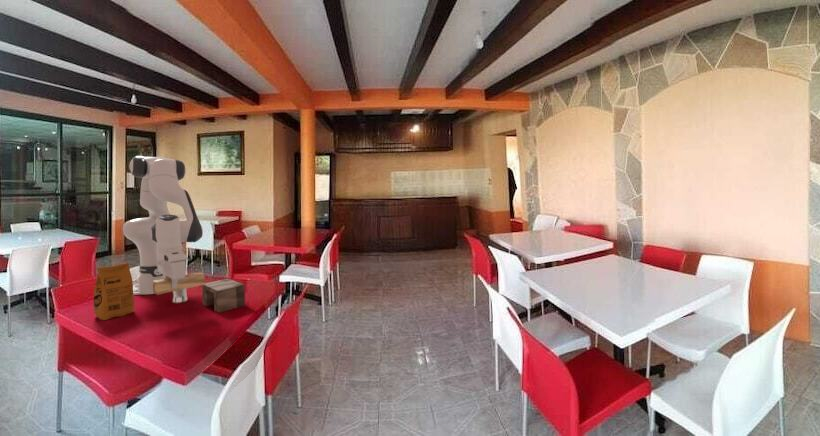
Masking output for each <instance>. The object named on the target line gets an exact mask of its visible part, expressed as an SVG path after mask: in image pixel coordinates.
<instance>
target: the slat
mask: <svg viewBox="0 0 820 436" xmlns="http://www.w3.org/2000/svg"><path fill="white" fill-rule="evenodd" d="M205 281H206V280H205V273H203V272H201V271H200V272H195V273H190V274H189V273H187V275H185V278H184V279H180V280H178V283H177V287H176V288H172V287H171V283H172V280H171V278H166V279H161V280H155V281H153V293H155V295H157V296H159V295H163V294H166V293H173V291H177V290H182V289H191V288H195V287H199V286H202V285H205V283H206V282H205Z"/></svg>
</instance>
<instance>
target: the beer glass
mask: <svg viewBox="0 0 820 436" xmlns="http://www.w3.org/2000/svg"><path fill="white" fill-rule="evenodd" d="M186 275H188V270H187V269H186ZM187 289H188V288H187ZM187 289H182V290H177V291H173V292H172V304H182V303H186V302H187V301H188V296H187Z"/></svg>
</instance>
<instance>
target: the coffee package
mask: <svg viewBox="0 0 820 436" xmlns="http://www.w3.org/2000/svg"><path fill="white" fill-rule="evenodd" d="M94 284H95V285H94V288H93V289H94V290H93V313H94V314H95V317H96V318H98V319H99V320H100V321H106V320H110V319H113V318H115V317H118V318H120V317H123V316H126V315H129V314H131V313H134V312H135V299H134V298H135V297H134V296H135V295H134V294H133V286H134V284H133V277H132V273H131V269H130V265H129V262H124V263H120V264H117V265H112V266H111V265H110V266H109V265H108V266H97V276H96V280H95V283H94Z"/></svg>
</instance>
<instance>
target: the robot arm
mask: <svg viewBox="0 0 820 436" xmlns="http://www.w3.org/2000/svg"><path fill="white" fill-rule="evenodd" d="M128 165H129V171H130V173H131V175H132V176H133V177H134V178H139V179H141V183H140V197H139V204H140V206H141V207H142V208H143V209H145V210H147V211H148V214H149V216H147V217H139V218H133V219H130V220H127V221H126V222H124V224H123V225H122V234H123V236H125V238H126V239H127V240H130V241H131V242H133V243H134V245H135V246H136V248H137V250H138V252H139V253H138V254H139V262H140V265H139V268H138V269H139V271H138V272H139V273H138V275H137V276H136V278H135V279H132V282H133V294H134V296H136V295H153V294H155V293H153V281H155V280H161V279H166V278H171V280H172V283H171V287H172V288H176V287H177V283H178V280H180V279H184V278H185V275H186V270H187V265H186V264H187V263H186V261H187V258H188V257H187V254H186V253H185V251H184V249H183V244H182V243H196V242H198V241H199V240H200V239H201V238H202V237H203V232H204V230H203V226H202V224H201V223H200V220H199V217H198V216H197V212H196V208H195V206H194V204H193V201H192V198H191V195H190V194H189V192H188V191H187V190H186V189H184V188H182V187H181V185H180V184H179V181H181V180H182V179H184V178H185V176H186V172H187V171H186V170H187V168H186V165H185V163H184V162H183V161H182V160H178V159H172V158H167V157H161V156H160V157H159V156H143V155H136V156H134V157H132V158H131V160H130V162H129V164H128ZM168 203H173V204H176V205H179V206H180V207H181V208H182V210H183V213H184V215H185V219H184V220H180V218H179V216H178V215H176V214H170V211H169V209H168V208H169V207H168ZM155 295H156V294H155Z"/></svg>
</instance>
